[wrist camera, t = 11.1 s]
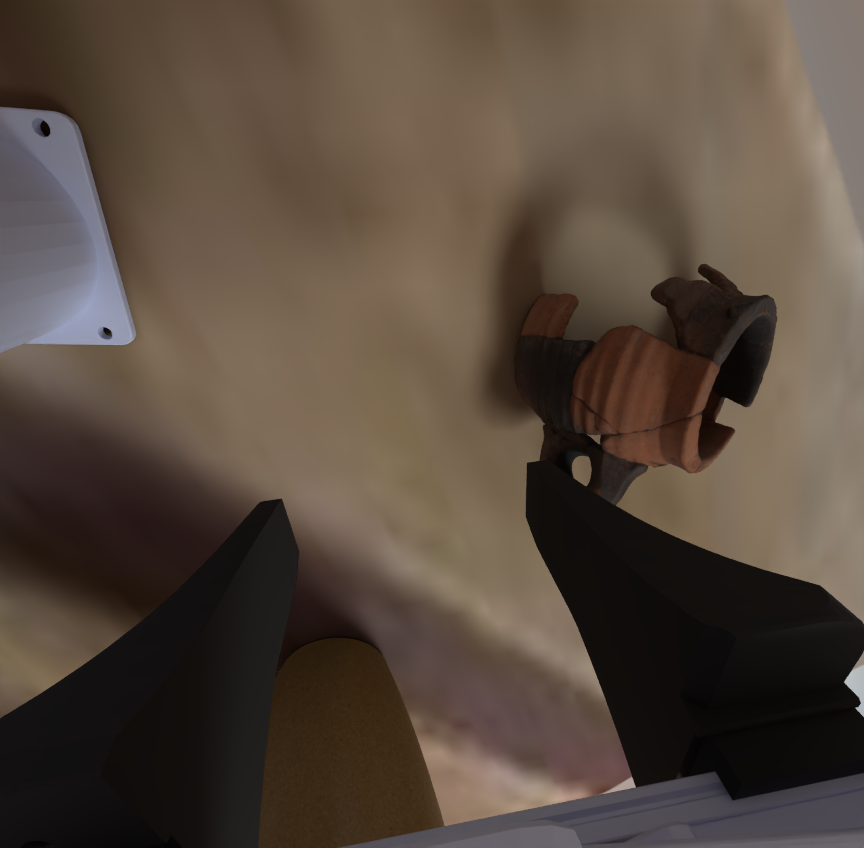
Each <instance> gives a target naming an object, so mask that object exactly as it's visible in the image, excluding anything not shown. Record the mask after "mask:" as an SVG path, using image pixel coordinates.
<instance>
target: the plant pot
mask: <svg viewBox="0 0 864 848" xmlns="http://www.w3.org/2000/svg"><path fill="white" fill-rule="evenodd" d="M439 827H444V822H443V819H442V815H441V811H440V808H439V805H438V801H437V798H436V795H435V792H434V788H433V785H432V782H431V778H430V775H429V772H428V769H427V766H426V763H425V760H424V757H423V754H422V751H421V748H420V745H419V742H418V739H417V736H416V734H415V731H414V728H413V725H412V723H411V720H410V717H409V715H408V712H407V710H406V707H405V704H404V702H403V700H402V697H401V695H400V692H399V690H398V688H397V685H396V683H395V681H394V678H393V676H392V674H391V672H390V670H389V667H388V665H387V663H386V661H385V659H384V657H383V655H382V654H381V653H380V652H379V651H378V650H377V649H376V648H374V647H373V646H371V645H369V644H367V643H365V642H362V641H359V640H354V639H350V638H330V639H323V640H319V641H315V642H312V643H309V644H307V645H305V646H303V647H301V648H299V649H298V650H296V651H295V652H294V653H293V654H291V655H290V656H289V657H288V659H287V660H286V661H285V663H284V664H283V666H282V668H281V669H280V671H279V672H278V674H277V676H276V677H275V682H274V689H273V697H272V705H271V712H270V721H269V730H268V739H267V748H266V757H265V767H264V778H263V789H262V801H261V812H260V827H259V842H258V848H340V847H345V846H350V845H355V844H360V843H365V842H370V841H375V840H380V839H385V838H390V837H395V836H400V835H404V834H409V833H414V832H419V831H424V830H429V829H434V828H439Z"/></svg>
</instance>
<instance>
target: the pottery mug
mask: <svg viewBox="0 0 864 848" xmlns="http://www.w3.org/2000/svg"><path fill="white" fill-rule="evenodd" d="M698 272H699V274H701V275H702V276H703V277H704V278H706V279H707V280H708V281H709V282H710V283H711V284H710V283H708V282H706V281H703V280H695V281H686V280H684V279H682V278H680V277H672V278H669V279H667V280H665V281H663V282H662V283H660V284H658V285H656V286H655V287H654V288H653V289H652V291H651V296H652V298H653V299H654V300H655V301H656V302H658V303H660V304H661V305H664V306H666V307H667V312H668V315H669V316H670V318H671V320H672V322H673V325H674V328H675V331H676V339H677V346H678V347H677V348H675V347H673V346H672V345H670V344H669V343H667V342H665V341H662V340H660V339H658V338H656V337H654V336H653V335H651V334H649V333H647V332H645V331H643V330H642V329H640V328H638V327H636V326H634V325H630V326H622V327H617V328H614V329H611V330H609V331H608V332H607V333H606V334H604V335H603V336H602V337H601V338H600V340H599V341H598V342H596V343H595V342H593V341H590V340H583V341H573V340H563V339H562V338H563V335H564V333H565V328H566V326H567V324H568V322H569V320H570V318H571V316H572V314H573V312H574V310H575V309H576V307H577V306H578V299H577V298H576V296H574V295H572V294H561V295H554V294H551V295H548V294H543V295H541V296H540V297H539V298H538V299H537V301H536V302H535V304H534V305H533V306H532V308H531V310H530V312H529V314H528V316H527V318H526V320H525V323H524V326H523V329H522V332H521V336H520V338H519V341H518V345H517V352H516V356H515V379H516V384H517V387H518V388H519V391H520V393H521V395H522V397H523V398H524V400H525V401H526V402H527V403H528V404H529V405H530V406H531V407H532V409H533V410H534V411H535V412H536V414H537V415H538V416H539V417H540V418H541V419H542V421H543V422H544V423H545V425H543V430H544V441H543V445H542V449H541V454H540V461H543V460H548V461H549V462H551V463H552V464H554V465H555V466H557V467H558V468H560V469H561V470H563V471H564V472H565V473H567V474H568V475H570V476H571V477H572V478H573V474H572V462H573V461H574V459H575V458H576V457H578V456H588V457H589V458H590V461H591V467H592V472H591V479H590V482H589V484H588V485H587V488H589V489H590V490H592V491H593V492H595V493H596V494H598V495H599V496H601V497H602V498H604V499H605V500H607V501H609V502H610V503H612V504H614V505H615V506H616V504H617V503H618V502H619V501H620V500H621V498H622V497H623V495H624V493H625V492H626V490H627V489H628V487H629V486H630V484H631V483H632V481H633V480H634V479H636V478H637V477H638V476H640V475H642V474H643V473H645V472H646V471H647V469H648V466H653V467H654V468H655V467H660V466H666V465H668V464H672V465H675V466H678V467H680V468H682V469H684V470H685V471H687V472H688V473H697V472H700V471H702V470H703V469H705V468H707V467H708V466H709V465H710V464H711V463H712V462H713V461H714V460H715V459H716V458H717V457H718V455H719V454H720V453H721V452H722V450H723V449H724V448H725V447H726V445H727V444H728V442H729V441H730V439H731V438H732V436H733V435H734V433H735V430H734V429H733V428H732V427H728V426H724V425H722V424H719V423H716V422H715V420H716V418H717V416H718V414H719V412H720V410H721V407H722V405H723V402H724V399H725V398H728V399H730V400H732V401H734V402H736V403H738V404H740V405H742V406H744V407H749V406H750V405H751V404H752V402H753V400H754V398H755V396H756V394H757V392H758V389H759V386H760V384H761V382H762V380H763V374H764V372H765V370H766V367H767V365H768V362H769V359H770V355H771V351H772V346H773V340H774V333H775V328H776V322H777V316H776V312H777V311H776V305H775V302H774V299H773V298H771V297H770V296H768V295H762V296H748V295H743V294H742V292H740V291H739V290H738V289H737V287H736V285H735V284H734V283H733V282H731V281H730V280H728V279H727V278H726V277H725V276H724V275H723V274H722V273H721V272H719V271H717V270H715V269H713V268H712V267H710V266H708V265H707V264H701V265H700V266H699V268H698ZM585 433H586V434H585ZM587 434H588V435H601V438H600V445H599V444H598V443H597V442H595V441H594V440H593V439H592V438H591V437H590V436H588V435H587Z"/></svg>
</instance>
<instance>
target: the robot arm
mask: <svg viewBox="0 0 864 848" xmlns="http://www.w3.org/2000/svg"><path fill="white" fill-rule="evenodd" d="M42 121H45V122H46V123H47V124H48V125H49V127H50V135H49V136H48V137H46V136H45V135H44V134H43V133H42V131H41V129H40V124H41V122H42ZM103 327H106V328H108V329H109V330H111V332H112V337H110V336H108V335H106V334H105V332H104V331H103ZM135 337H136V331H135V327H134V324H133V320H132V316H131V313H130V309H129V306H128V302H127V298H126V295H125V291H124V288H123V284H122V280H121V277H120V273H119V269H118V266H117V262H116V259H115V255H114V251H113V248H112V244H111V240H110V237H109V233H108V230H107V226H106V222H105V219H104V215H103V211H102V208H101V204H100V201H99V197H98V193H97V190H96V186H95V182H94V179H93V175H92V172H91V168H90V164H89V161H88V157H87V154H86V150H85V146H84V143H83V139H82V135H81V132H80V130H79V127H78V125H77V124H76V123H75V122H74V120H73V119H72V118H70V117H69V116H67V115H66V114H62V113H58V112H55V111H46V110H34V109H21V108H9V107H0V353H2V352H4V351H6V350H9V349H11V348H14V347H16V346H19V345H21V344H88V345H125V344H128V343H130V342H132V341H133V340H134V339H135ZM526 518H527V521H528V524H529V527H530V530H531V533H532V535H533V538H534V540H535V543H536V546H537V548H538V550H539V552H540V554H541V556H542V558H543V560H544V562H545V564H546V565H547V567H548V569H549V571H550V573H551V575H552V577H553V579H554V581H555V583H556V585H557V587H558V589H559V590H560V592H561V594H562V596H563V598H564V600H565V602H566V604H567V606H568V608H569V610H570V612H571V614H572V616H573V618H574V620H575V622H576V625H577V627H578V629H579V632H580V634H581V637H582V639H583V642H584V644H585V647H586V649H587V652H588V654H589V657H590V659H591V662H592V665H593V667H594V670H595V673H596V675H597V678H598V680H599V683H600V686H601V688H602V691H603V694H604V696H605V699H606V702H607V705H608V707H609V710H610V713H611V716H612V719H613V722H614V724H615V727H616V730H617V733H618V736H619V738H620V741H621V744H622V747H623V750H624V753H625V756H626V759H627V762H628V765H629V768H630V771H631V774H632V777H633V780H634V783H635V786H636V788H631V789H627V790H621V791H617V792H611V793H607V794H601V795H597V796H592V797H587V798H582V799H577V800H572V801H567V802H562V803H557V804H552V805H547V806H542V807H537V808H533V809H528V810H523V811H518V812H513V813H508V814H503V815H498V816H493V817H488V818H483V819H478V820H473V821H468V822H464V823H459V824H454V825H449V826H444V827H439V828H434V829H429V830H424V831H419V832H414V833H409V834H404V835H400V836H395V837H390V838H385V839H380V840H375V841H370V842H365V843H360V844H355V845H350V846H345V847H340V848H864V717H863V716H862V715H861V714H860V713H859V712H858V711H857V710H856V709H855V708H856V707H859V705H860V704H861V702H860V700H859V698H858V696H857V695H856V694H855V693H854V692H853V691H852V690H851V689H850V688H849V687H848V686H847V685H846V684H845V683H844V681H845V679H846V678H847V676H848V675H849V673H850V672H851V670H852V669H853V667H854V666H855V664H856V663H857V661H858V660H859V658H860V657H861V655H862V653H863V651H864V624H863V622H862V621H861V620H860V619H858V618H857V617H856V616H855V615H854V614H853V613H852V612H850V611H849V610H848V609H847V608H846V607H845V606H843V605H842V604H841V603H840V602H839V601H838V600H836V599H835V598H834V597H833V596H832V595H831V594H830V593H828V592H827V591H826V590H825V589H824V588H822V587H821V586H820V585H816V584H813V583H809V582H806V581H802V580H798V579H795V578H791V577H788V576H784V575H780V574H777V573H773V572H770V571H766V570H763V569H760V568H756V567H753V566H750V565H747V564H744V563H742V562H739V561H736V560H733V559H730V558H727V557H724V556H721V555H719V554H716V553H713V552H711V551H708V550H706V549H703V548H701V547H698V546H696V545H693V544H691V543H688V542H686V541H684V540H681V539H679V538H677V537H675V536H672V535H670V534H668V533H666V532H664V531H662V530H660V529H658V528H656V527H654V526H652V525H650V524H648V523H646V522H644V521H642V520H640V519H638V518H636V517H634V516H632V515H631V514H629V513H627V512H626V511H624V510H622V509H620V508H619V507H617V506H615V505H614V504H612V503H610V502H609V501H607V500H605V499H604V498H602V497H601V496H599V495H598V494H596V493H595V492H593V491H592V490H590V489H589V488H587V487H586V486H584V485H583V484H581V483H580V482H578V481H577V480H575V479H574V478H572V477H571V476H570V475H568V474H567V473H565V472H564V471H563V470H561V469H560V468H558V467H557V466H555V465H554V464H552V463H551V462H549V461H548V460H543V461H536V462H529V463H527V485H526ZM298 558H299V550H298V546H297V543H296V540H295V537H294V534H293V531H292V528H291V525H290V522H289V519H288V516H287V513H286V510H285V507H284V504H283V501H282V499H276V500H269V501H263V502H260V503H259V504H258V505H257V506H256V507H255V508H254V509H253V510H252V511H251V513H250V514H249V515H248V516H247V517H246V518H245V519H244V521H243V522H242V523H241V524H240V525H239V526H238V527H237V529H236V530H235V531H234V532H233V533H232V534H231V535H230V536H229V537H228V539H227V540H226V541H225V542H224V543H223V544H222V545H221V546H220V547H219V549H218V550H217V551H216V552H215V553H214V554H213V555H212V556H211V557H210V558H209V559H208V560H207V561H206V562H205V563H204V564H203V565H202V566H201V567H200V568H199V569H198V570H197V571H196V572H195V573H194V574H193V575H192V576H191V577H190V578H189V579H188V580H187V581H186V582H185V583H184V584H183V585H182V586H181V587H180V588H179V589H178V590H177V591H176V592H175V593H174V594H173V595H171V596H170V597H169V598H168V599H167V600H166V601H165V602H164V603H162V604H161V605H160V606H159V607H158V608H157V609H156V610H154V611H153V612H152V613H151V614H150V615H149V616H147V617H146V618H145V619H144V620H142V621H141V622H140V623H139V624H137V625H136V626H135V627H133V628H132V629H131V630H130V631H128V632H127V633H126V634H124V635H123V636H122V637H121V638H119V639H118V640H117V641H115V642H114V643H113V644H112V645H110V646H109V647H108V648H106V649H105V650H104V651H102V652H101V653H100V654H98V655H97V656H95V657H94V658H93V659H91V660H90V661H88V662H87V663H85V664H84V665H83V666H81V667H80V668H78V669H77V670H75V671H74V672H72V673H71V674H69V675H68V676H66V677H65V678H64V679H62V680H61V681H59V682H58V683H56V684H55V685H53V686H52V687H50V688H48V689H47V690H45V691H44V692H42V693H41V694H39V695H38V696H36V697H34V698H33V699H31V700H29V701H28V702H26V703H25V704H23V705H21V706H20V707H18V708H16V709H15V710H13V711H12V712H10V713H8V714H7V715H5V716H3V717H2V718H0V848H258V842H259V827H260V812H261V801H262V789H263V778H264V767H265V757H266V748H267V739H268V730H269V721H270V712H271V705H272V697H273V689H274V682H275V676H276V670H277V665H278V660H279V656H280V651H281V647H282V643H283V639H284V634H285V630H286V626H287V621H288V617H289V613H290V609H291V604H292V600H293V595H294V591H295V586H296V579H297V570H298Z"/></svg>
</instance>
